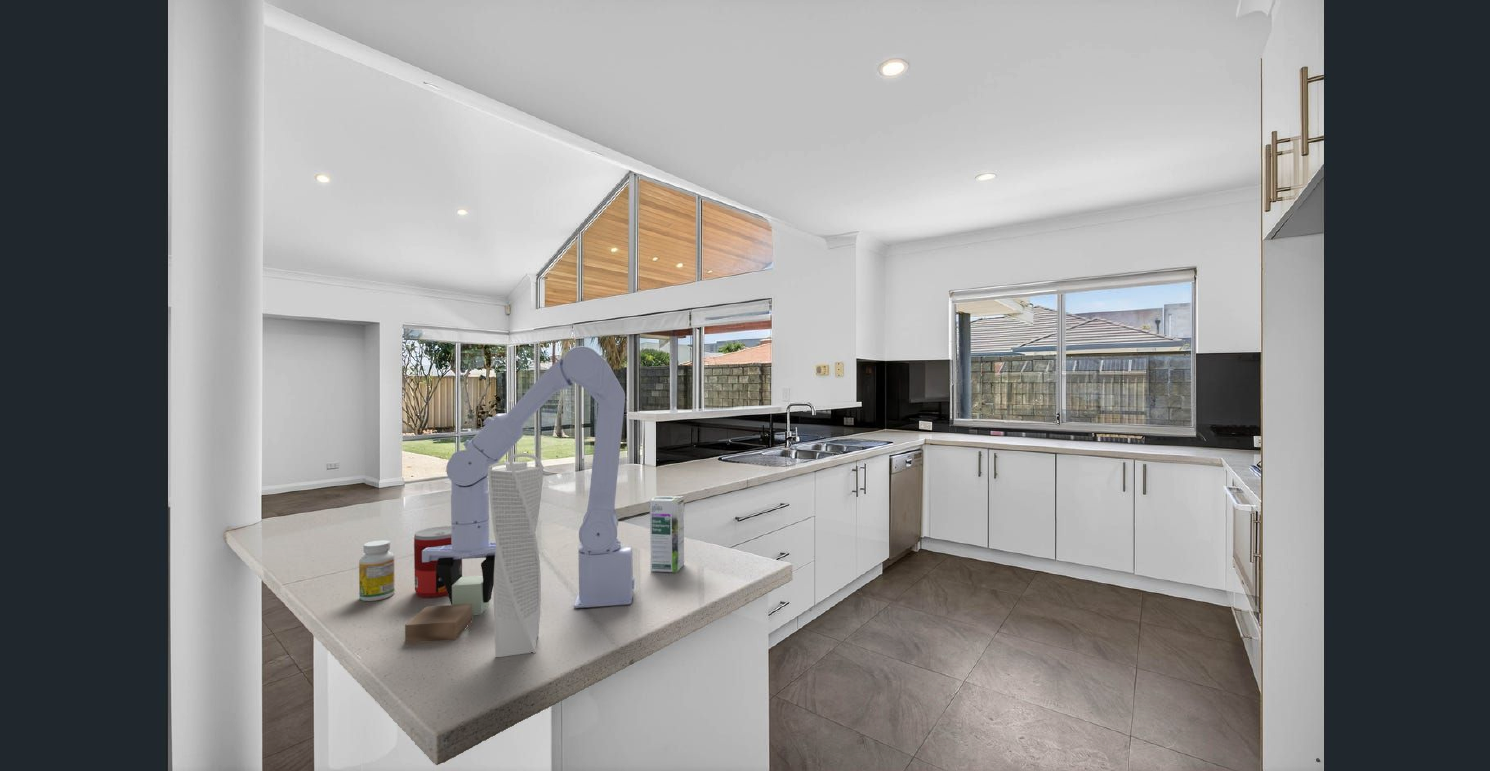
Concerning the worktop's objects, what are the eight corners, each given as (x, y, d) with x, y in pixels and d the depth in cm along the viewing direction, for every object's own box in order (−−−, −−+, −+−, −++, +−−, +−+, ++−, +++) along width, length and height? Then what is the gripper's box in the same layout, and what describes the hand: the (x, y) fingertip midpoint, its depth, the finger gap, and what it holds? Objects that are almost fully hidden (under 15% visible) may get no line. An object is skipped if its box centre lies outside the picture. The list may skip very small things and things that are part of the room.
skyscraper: (543, 655, 78) (541, 453, 78) (484, 664, 76) (482, 455, 76) (546, 632, 85) (544, 447, 86) (493, 639, 83) (491, 449, 83)
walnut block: (472, 622, 90) (472, 603, 90) (455, 642, 83) (455, 621, 83) (426, 625, 89) (426, 606, 89) (405, 645, 82) (405, 624, 82)
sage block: (489, 604, 97) (489, 575, 97) (481, 614, 93) (481, 583, 93) (461, 605, 96) (461, 576, 96) (452, 616, 92) (451, 585, 92)
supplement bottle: (391, 599, 100) (391, 544, 100) (355, 603, 98) (355, 548, 98) (397, 589, 105) (396, 537, 105) (363, 593, 103) (362, 541, 103)
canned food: (442, 599, 100) (442, 537, 100) (403, 596, 101) (403, 535, 101) (472, 584, 107) (471, 526, 107) (435, 582, 109) (434, 525, 109)
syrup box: (649, 572, 113) (648, 499, 113) (658, 563, 119) (658, 494, 119) (677, 573, 112) (676, 500, 112) (685, 564, 118) (684, 494, 118)
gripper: (413, 528, 90) (414, 614, 90) (509, 523, 92) (510, 607, 92) (431, 518, 97) (431, 597, 96) (520, 514, 99) (520, 592, 99)
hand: (471, 601), depth 95 cm, fingers closed on sage block, 4 cm apart
